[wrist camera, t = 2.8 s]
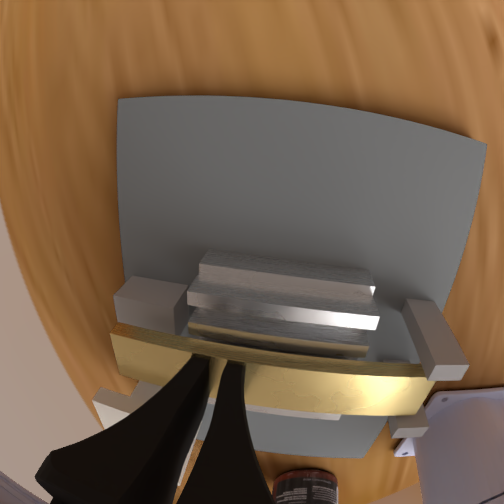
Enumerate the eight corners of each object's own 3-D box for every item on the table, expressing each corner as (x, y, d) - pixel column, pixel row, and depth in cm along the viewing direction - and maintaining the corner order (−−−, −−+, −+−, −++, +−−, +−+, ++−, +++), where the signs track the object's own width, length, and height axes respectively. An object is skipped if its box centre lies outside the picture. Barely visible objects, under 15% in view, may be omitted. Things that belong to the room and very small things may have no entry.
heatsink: (368, 269, 13) (382, 307, 10) (334, 382, 16) (336, 425, 13) (209, 249, 14) (186, 281, 11) (208, 365, 17) (193, 404, 14)
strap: (432, 364, 11) (438, 377, 10) (411, 402, 12) (414, 415, 11) (118, 321, 12) (109, 332, 11) (127, 363, 13) (120, 374, 12)
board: (474, 141, 11) (554, 161, 6) (361, 445, 20) (365, 508, 15) (131, 99, 13) (46, 99, 8) (159, 416, 22) (132, 474, 16)
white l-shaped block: (198, 345, 16) (163, 423, 11) (202, 421, 19) (179, 485, 14) (130, 330, 16) (83, 396, 12) (147, 407, 19) (117, 465, 14)
